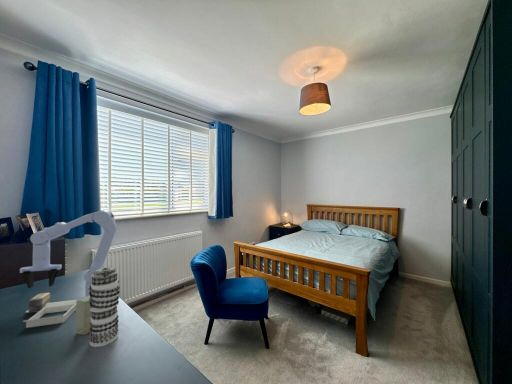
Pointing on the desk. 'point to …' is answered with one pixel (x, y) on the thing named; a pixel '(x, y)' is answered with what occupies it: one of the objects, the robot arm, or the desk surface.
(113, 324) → the decorative candle
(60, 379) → the desk surface
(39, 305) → the block
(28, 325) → the white flat frame
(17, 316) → the desk surface
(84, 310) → the skincare box
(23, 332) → the desk surface
